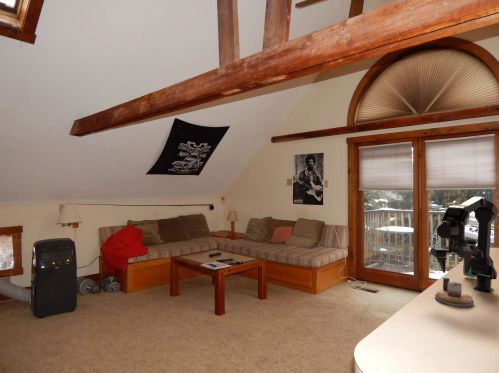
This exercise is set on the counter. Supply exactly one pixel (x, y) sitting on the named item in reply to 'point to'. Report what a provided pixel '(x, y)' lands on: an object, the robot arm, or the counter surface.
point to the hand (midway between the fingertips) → (455, 272)
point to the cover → (454, 289)
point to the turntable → (460, 300)
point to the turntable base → (454, 303)
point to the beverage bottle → (469, 274)
